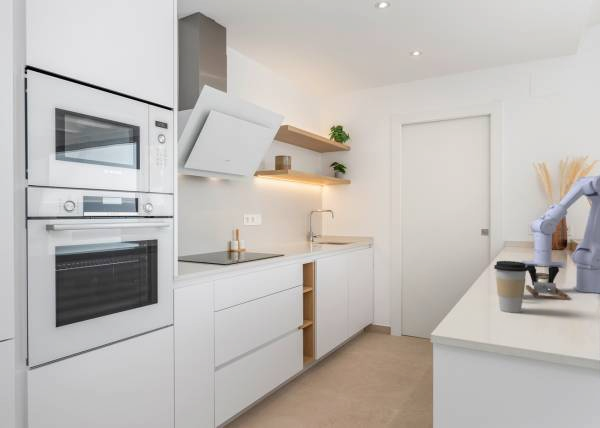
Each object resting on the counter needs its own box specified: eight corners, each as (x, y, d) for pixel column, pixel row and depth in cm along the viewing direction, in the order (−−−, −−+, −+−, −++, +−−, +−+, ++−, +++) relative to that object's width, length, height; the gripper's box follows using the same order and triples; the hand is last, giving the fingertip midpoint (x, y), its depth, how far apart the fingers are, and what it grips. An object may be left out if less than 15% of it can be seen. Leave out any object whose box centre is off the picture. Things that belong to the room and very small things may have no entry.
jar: (546, 287, 157) (547, 273, 156) (550, 292, 153) (551, 277, 152) (532, 287, 159) (533, 272, 158) (535, 291, 154) (536, 276, 153)
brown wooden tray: (554, 290, 156) (555, 286, 156) (568, 300, 140) (568, 295, 140) (525, 288, 159) (525, 285, 159) (536, 297, 143) (536, 293, 143)
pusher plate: (555, 293, 151) (555, 282, 150) (561, 298, 143) (561, 287, 143) (533, 292, 153) (534, 281, 153) (539, 296, 145) (539, 285, 145)
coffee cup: (533, 314, 122) (534, 265, 121) (501, 314, 122) (502, 264, 121) (517, 306, 131) (518, 260, 131) (488, 306, 131) (488, 260, 131)
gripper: (561, 250, 156) (560, 285, 156) (519, 248, 160) (518, 282, 161) (567, 252, 149) (566, 288, 150) (523, 250, 154) (522, 286, 154)
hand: (542, 285), depth 155 cm, fingers closed on jar, 5 cm apart
